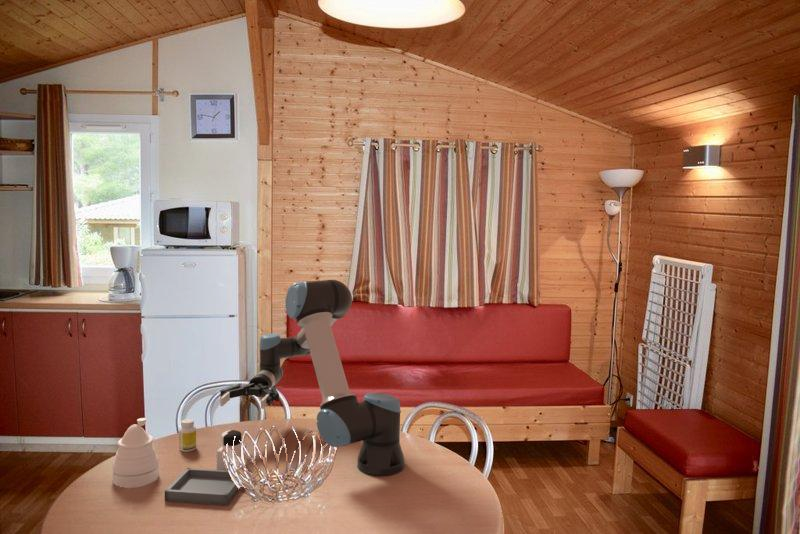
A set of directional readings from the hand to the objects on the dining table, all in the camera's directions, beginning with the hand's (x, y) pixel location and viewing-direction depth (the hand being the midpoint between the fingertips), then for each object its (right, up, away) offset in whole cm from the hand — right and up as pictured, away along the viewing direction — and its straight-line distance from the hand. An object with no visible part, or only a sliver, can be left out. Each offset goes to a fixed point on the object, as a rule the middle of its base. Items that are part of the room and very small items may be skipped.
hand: (241, 403), depth 204 cm
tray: (-4, -20, -22) cm, 31 cm away
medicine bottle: (-1, -19, -8) cm, 21 cm away
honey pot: (-28, -19, -15) cm, 37 cm away
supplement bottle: (-20, -17, +7) cm, 27 cm away
